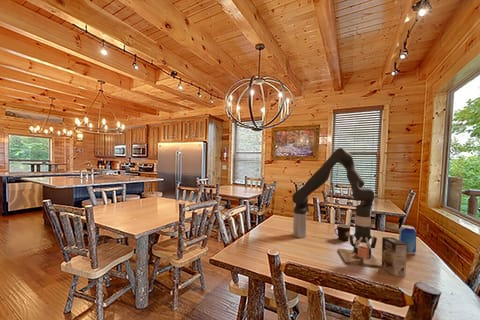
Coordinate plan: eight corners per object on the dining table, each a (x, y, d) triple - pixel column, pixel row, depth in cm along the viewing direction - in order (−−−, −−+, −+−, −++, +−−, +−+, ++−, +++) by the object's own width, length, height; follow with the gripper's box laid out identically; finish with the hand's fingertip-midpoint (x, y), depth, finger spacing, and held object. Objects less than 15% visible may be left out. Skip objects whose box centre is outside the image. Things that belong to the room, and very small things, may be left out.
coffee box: (381, 266, 115) (381, 236, 115) (392, 266, 115) (392, 236, 115) (394, 276, 106) (395, 243, 106) (406, 275, 106) (407, 243, 106)
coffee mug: (347, 237, 158) (347, 224, 158) (352, 242, 149) (352, 228, 149) (330, 237, 159) (331, 223, 159) (334, 241, 150) (335, 227, 150)
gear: (355, 253, 121) (355, 245, 121) (365, 254, 120) (366, 246, 120) (358, 257, 116) (358, 249, 116) (369, 258, 115) (369, 250, 115)
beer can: (412, 250, 137) (412, 225, 137) (418, 255, 129) (419, 229, 129) (396, 248, 140) (397, 224, 140) (401, 253, 132) (402, 227, 132)
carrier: (345, 263, 117) (346, 254, 117) (337, 250, 135) (337, 242, 135) (382, 268, 113) (382, 258, 113) (369, 253, 131) (369, 245, 131)
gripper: (374, 223, 121) (373, 253, 120) (346, 221, 123) (346, 250, 123) (380, 227, 113) (379, 259, 113) (350, 225, 116) (350, 256, 116)
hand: (362, 254), depth 118 cm, fingers closed on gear, 5 cm apart
